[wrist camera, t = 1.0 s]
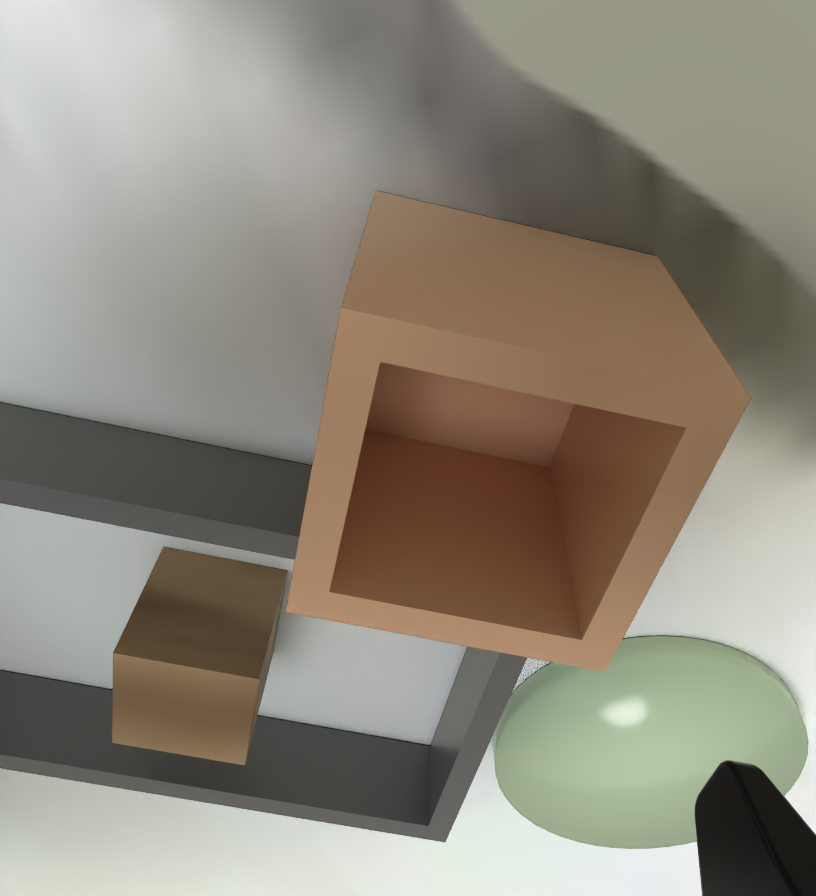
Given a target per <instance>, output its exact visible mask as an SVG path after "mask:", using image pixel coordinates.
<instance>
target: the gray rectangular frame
mask: <svg viewBox="0 0 816 896" xmlns="http://www.w3.org/2000/svg"><path fill="white" fill-rule="evenodd" d="M311 470H312V466H310V465H305V464H300V463H295V462H290V461H285V460H280V459H275V458H270V457H265V456H261V455H256V454H251V453H246V452H241V451H236V450H231V449H226V448H221V447H216V446H211V445H206V444H201V443H197V442H192V441H187V440H182V439H177V438H172V437H167V436H162V435H157V434H152V433H147V432H142V431H137V430H133V429H128V428H123V427H118V426H113V425H108V424H103V423H98V422H93V421H88V420H83V419H78V418H73V417H69V416H64V415H59V414H54V413H49V412H44V411H39V410H34V409H29V408H24V407H19V406H14V405H9V404H5V403H0V503H4V504H9V505H14V506H19V507H24V508H30V509H35V510H40V511H45V512H50V513H56V514H61V515H66V516H71V517H76V518H81V519H87V520H92V521H97V522H102V523H107V524H113V525H118V526H123V527H128V528H133V529H138V530H144V531H149V532H154V533H159V534H164V535H169V536H175V537H180V538H185V539H190V540H195V541H201V542H206V543H211V544H216V545H221V546H226V547H232V548H237V549H242V550H247V551H252V552H258V553H263V554H268V555H273V556H278V557H283V558H289V559H294V560H295V558H296V553H297V547H298V542H299V536H300V531H301V525H302V520H303V514H304V509H305V503H306V498H307V492H308V487H309V481H310V476H311ZM526 659H527V657H523V656H517V655H512V654H507V653H501V652H496V651H491V650H485V649H480V648H475V647H469V646H468V648H467V650H466V653H465V656H464V658H463V661H462V664H461V666H460V669H459V672H458V674H457V677H456V679H455V682H454V685H453V687H452V690H451V693H450V695H449V698H448V701H447V703H446V706H445V709H444V711H443V714H442V717H441V719H440V722H439V725H438V727H437V730H436V733H435V735H434V738H433V740H432V743H431V746H426V745H420V744H415V743H409V742H403V741H398V740H392V739H386V738H380V737H375V736H369V735H363V734H358V733H352V732H346V731H341V730H335V729H329V728H324V727H318V726H312V725H307V724H301V723H295V722H290V721H284V720H278V719H273V718H267V717H261V716H257V719H256V723H255V727H254V731H253V735H252V739H251V743H250V747H249V751H248V755H247V759H246V763H245V765H239V764H234V763H228V762H222V761H216V760H210V759H204V758H199V757H193V756H187V755H181V754H175V753H169V752H164V751H158V750H152V749H146V748H140V747H134V746H129V745H123V744H117V743H112V716H113V690H108V689H102V688H97V687H91V686H85V685H80V684H74V683H68V682H63V681H57V680H51V679H46V678H40V677H34V676H29V675H23V674H17V673H12V672H6V671H0V768H2V769H8V770H14V771H20V772H26V773H32V774H38V775H44V776H50V777H56V778H62V779H68V780H74V781H80V782H86V783H92V784H98V785H104V786H110V787H116V788H122V789H128V790H134V791H140V792H146V793H152V794H158V795H164V796H170V797H176V798H182V799H188V800H194V801H200V802H206V803H212V804H218V805H224V806H230V807H236V808H242V809H248V810H254V811H260V812H266V813H272V814H278V815H284V816H290V817H296V818H302V819H308V820H314V821H320V822H326V823H332V824H338V825H344V826H350V827H356V828H362V829H368V830H374V831H380V832H386V833H393V834H399V835H405V836H411V837H417V838H423V839H429V840H435V841H441V842H446V839H447V837H448V835H449V833H450V830H451V828H452V826H453V824H454V821H455V819H456V817H457V815H458V812H459V810H460V808H461V806H462V803H463V801H464V799H465V797H466V794H467V792H468V790H469V788H470V785H471V783H472V781H473V779H474V776H475V774H476V772H477V770H478V767H479V765H480V763H481V761H482V758H483V756H484V754H485V752H486V749H487V747H488V745H489V743H490V740H491V738H492V736H493V734H494V731H495V729H496V727H497V724H498V722H499V720H500V718H501V715H502V713H503V711H504V709H505V706H506V704H507V702H508V700H509V697H510V695H511V693H512V691H513V688H514V686H515V684H516V682H517V679H518V677H519V675H520V673H521V670H522V668H523V666H524V664H525V661H526Z"/></svg>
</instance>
